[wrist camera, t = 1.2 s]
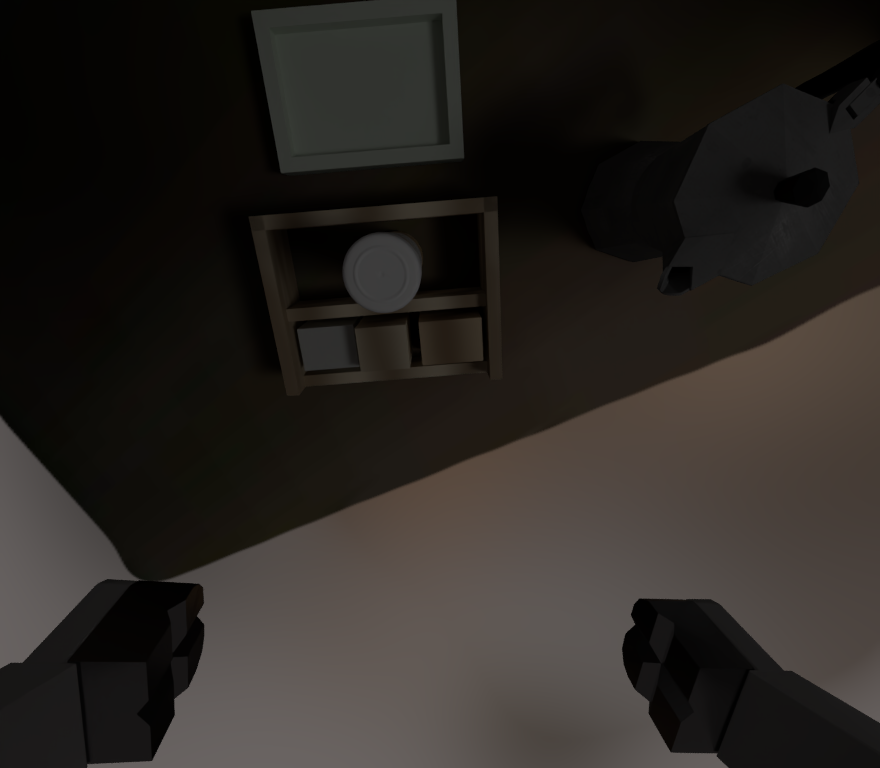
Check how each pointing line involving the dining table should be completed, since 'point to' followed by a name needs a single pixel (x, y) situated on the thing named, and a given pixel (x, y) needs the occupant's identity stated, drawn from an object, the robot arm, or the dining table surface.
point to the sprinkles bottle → (383, 270)
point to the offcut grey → (329, 343)
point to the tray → (362, 84)
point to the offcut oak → (450, 336)
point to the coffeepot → (739, 183)
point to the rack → (293, 312)
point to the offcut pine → (384, 342)
